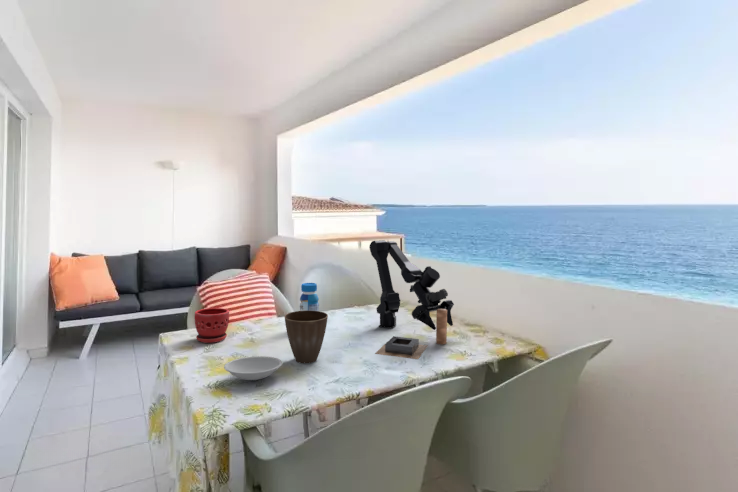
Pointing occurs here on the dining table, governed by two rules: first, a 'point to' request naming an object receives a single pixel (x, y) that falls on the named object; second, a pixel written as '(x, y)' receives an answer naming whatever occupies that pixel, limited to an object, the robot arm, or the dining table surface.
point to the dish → (253, 367)
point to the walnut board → (414, 356)
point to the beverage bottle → (309, 297)
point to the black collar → (402, 345)
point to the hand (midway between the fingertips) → (443, 327)
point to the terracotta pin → (441, 326)
